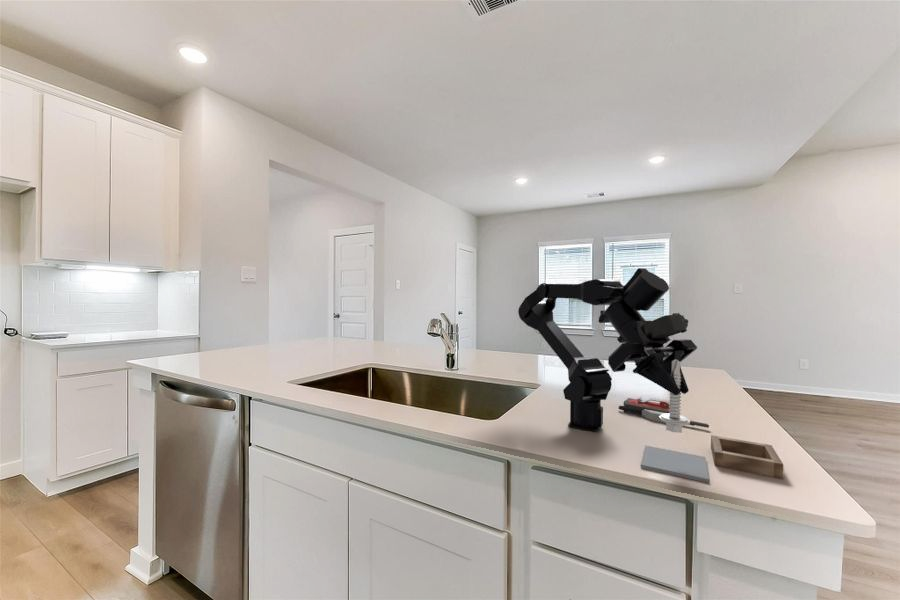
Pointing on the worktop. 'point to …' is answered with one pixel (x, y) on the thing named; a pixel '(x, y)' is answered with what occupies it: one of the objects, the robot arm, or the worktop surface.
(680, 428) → the screw
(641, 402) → the walkie-talkie
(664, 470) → the mat
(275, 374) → the worktop surface
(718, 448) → the square wooden frame
